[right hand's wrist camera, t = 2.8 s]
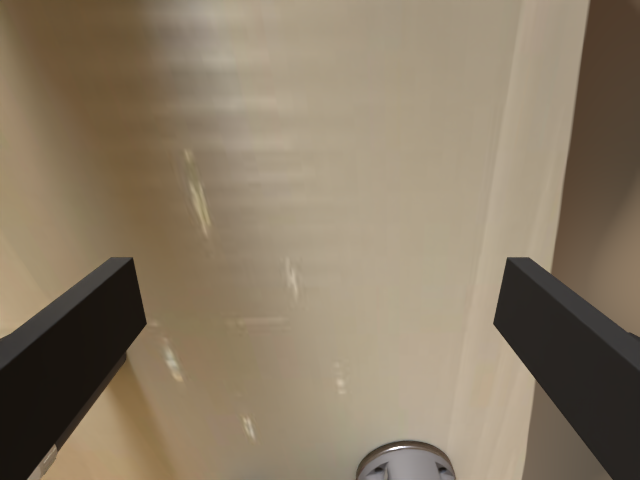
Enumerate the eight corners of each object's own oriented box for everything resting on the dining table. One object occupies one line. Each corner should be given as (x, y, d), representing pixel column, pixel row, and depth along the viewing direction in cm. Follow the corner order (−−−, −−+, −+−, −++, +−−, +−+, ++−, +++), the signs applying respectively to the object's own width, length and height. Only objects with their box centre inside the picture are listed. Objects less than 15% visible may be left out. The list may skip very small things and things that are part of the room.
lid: (69, 453, 36) (53, 476, 34) (32, 471, 37) (14, 493, 35) (31, 420, 34) (12, 442, 32) (-7, 439, 35) (-28, 461, 33)
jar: (133, 358, 49) (53, 470, 34) (107, 372, 49) (18, 487, 35) (110, 334, 47) (16, 440, 33) (83, 348, 48) (-20, 457, 33)
